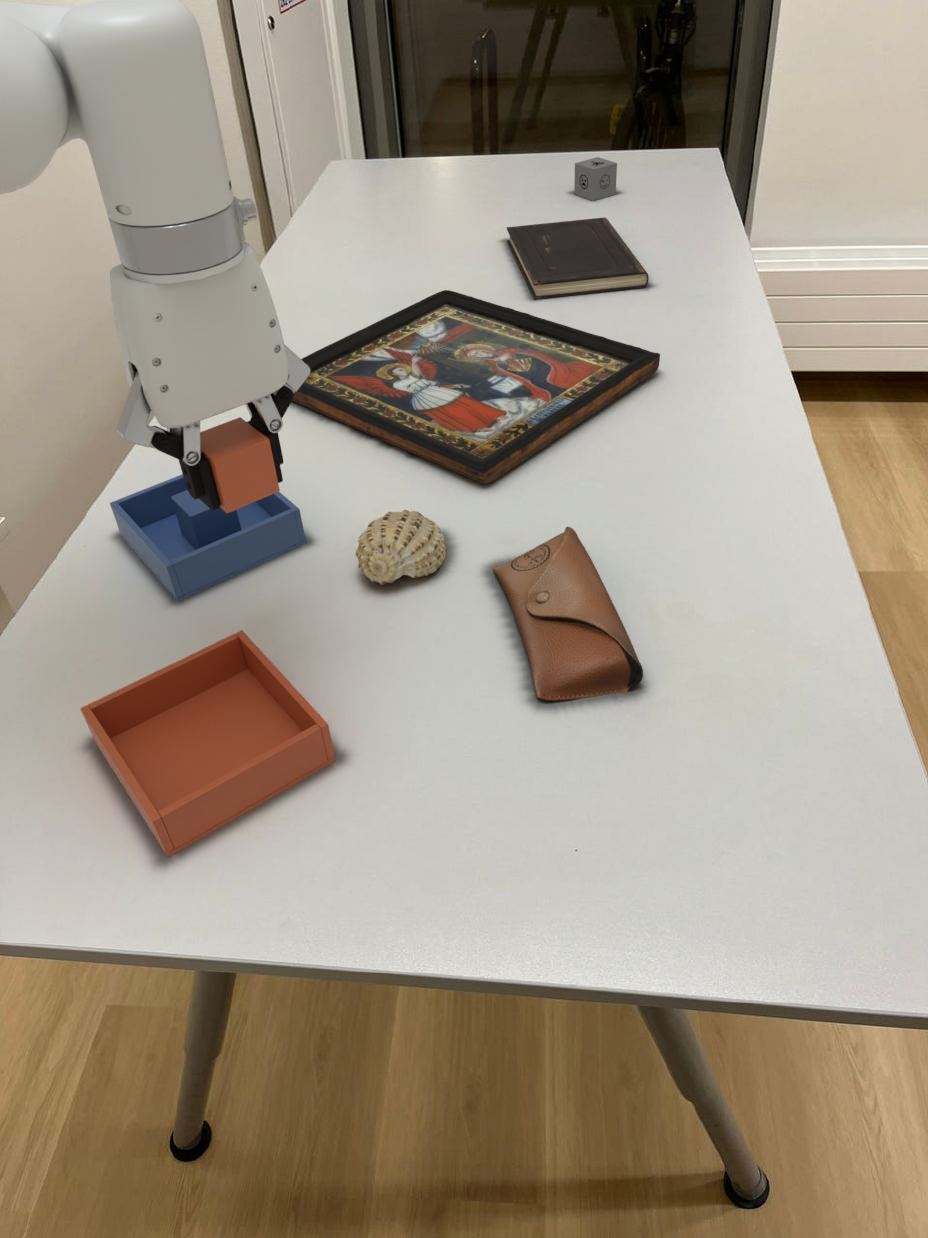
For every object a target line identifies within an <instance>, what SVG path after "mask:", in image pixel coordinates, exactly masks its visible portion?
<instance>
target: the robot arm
mask: <svg viewBox="0 0 928 1238" xmlns="http://www.w3.org/2000/svg"><path fill="white" fill-rule="evenodd" d="M76 139H79V140H82V142H83V141H84V143H86V145H87V149H88V151H89V154H90V158H91V161H92V165H93V169H94V171H95V172H94V173H95V175H96V178H97V182H98V186H99V189H100V193H101V197H102V200H103V203H104V207H105V210H106V215H107V217H108V222H109V225H110V229H111V232H112V236H113V241H114V244H115V247H116V251H117V254H118V257H119V260H120V264H119V265H116V266H113V267H112V268H111V269H110V270H109V285H110V286H109V287H110V296H111V305H112V312H113V319H114V325H115V330H116V335H117V340H118V341H117V342H118V346H119V350H120V355H121V359H122V364H123V369H124V373H125V377H126V381H127V385H128V388H129V392H128V394H127V397H126V401H125V403H124V405H123V409H122V411H121V415H120V417H119V421H118V423H117V427H116V433H117V434H118V435H119V436H120V437H121V438H122V439H123V440H124V441H125V442H127V443H130V444H133V445H137V446H141V447H145V448H152V449H156V450H157V451H159V452H161V453H163V454H166V455H168V456H171V457H172V458H175V459H177V460H178V463H179V466H180V470H181V475H182V474H183V477H184V481H185V484H186V487H187V490H188V492H189V494H190V495H191V496H192V497H193V498H194V499H195V500H196V499H200V500H201V501H202V502H203V503H204V504H205V505H207V506H208V507H209V508H210V509H211V510H212V511H214V510H216V509H218V508H220V506H221V503H220V499H219V495H218V491H217V487H216V483H215V479H214V475H213V472H212V468H211V464H210V462H209V461H208V460H207V459H206V458H205V457H204V456H203V455H202V452H201V440H200V432H201V421H202V422H203V421H204V420H207V419H210V418H212V417H215V416H217V415H221V414H223V413H226V412H228V411H231V410H234V409H236V408H239V407H241V406H245V408H246V410H247V411H248V412H247V413H248V414H249V415H250V420H248V421H246V422H247V423H249V424H250V425H251V426H253V427H254V428H255V429H256V430H258V431H259V432H260V433H262V434H263V435H264V436H266V437H267V438H268V439H269V441H270V446H271V450H272V455H273V460H274V465H275V470H276V475H277V479H278V484H280V483H282V482H284V477H283V473H282V468H281V465H283V464H284V456H283V452H282V447H281V441H280V436H279V433H280V431H281V430H282V429H283V426H284V421H283V418H284V416H285V414H286V412H287V411H288V409H289V407H290V406H291V403H292V402H293V401H292V400H293V397H294V393H295V391H296V392H297V391H298V389H299V388H300V387H301V385H302V384H303V383H304V381H305V380H306V379H307V377H308V376H309V374H310V367H309V366H308V365H307V364H306V363H305V362H303V361H302V360H301V359H302V358H300V357H299V356H298V354H296V353H295V352H294V351H293V350H292V349H291V348H290V347H288V346H287V345H286V344H285V341H284V337H283V333H282V328H281V325H280V321H279V317H278V314H277V311H276V306H275V304H274V301H273V298H272V295H271V291H270V289H269V285H268V283H267V280H266V277H265V275H264V272H263V270H262V267H261V265H260V263H259V260H258V257H257V255H256V253H255V251H254V248H253V247H252V245H251V244H250V243H247V242H246V237H245V232H244V226H247V224H248V223H249V222H254V221H256V220H257V216H258V213H257V207H256V206H255V203H254V201H253V200H252V199H251V198H249V197H247V198H243V199H240V198H238V197H236V196H234V193H233V187H232V181H231V176H230V172H229V167H228V163H227V158H226V157H227V156H226V152H225V146H224V141H223V136H222V131H221V128H220V120H219V116H218V111H217V105H216V101H215V95H214V90H213V86H212V80H211V75H210V70H209V65H208V60H207V55H206V49H205V46H204V41H203V37H202V32H201V28H200V25H199V22H198V20H197V18H196V16H195V14H194V13H193V12H192V11H191V9H189V7H188V6H187V5H186V4H185V3H183V2H182V1H180V0H94V1H90V2H86V3H81V4H79V5H57V4H56V5H54V4H39V3H27V2H26V3H25V2H14V1H0V195H2V194H3V195H4V194H9V193H14V192H16V191H18V190H21V189H23V188H25V187H27V186H29V185H31V184H32V183H33V182H35V181H36V180H37V179H38V178H39V177H40V176H41V175H42V174H43V172H45V170H46V169H47V167H48V166H49V165H50V163H51V162H52V159H53V157H54V156H55V154H56V152H57V150H58V149H60V148H61V147H64V146H65V145H66V144H67V143H69V142H71V141H73V140H76ZM151 412H152V413H153V414H154V417H155V419H156V421H157V423H158V424H159V425H160V426H161V427H159V426H158V425H149V424H148V419H149V417H150V414H151ZM162 427H163V428H162ZM164 428H166V429H164Z"/></svg>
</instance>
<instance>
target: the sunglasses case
mask: <svg viewBox="0 0 928 1238" xmlns="http://www.w3.org/2000/svg"><path fill="white" fill-rule="evenodd" d="M492 571H493V574H494V576H495V577H496V579H497V581H498V583H499V584H500V586H501V587H502V589H503V592H504V593H505V596H506V598H507V600H508V603H509V606H510V608H511V611H512V614H513V616H514V619H515V622H516V625H517V628H518V631H519V633H520V637H521V639H522V644H523V645H524V649H525V654H526V655H527V659H528V663H529V666H530V670H531V675H532V680H533V681H532V682H533V687H534V693H535V695H536V697H537V699H538V700H542V701H544V702H550V703H551V702H570V701H572V702H573V701H577V700H582V699H588V698H589V699H590V698H597V697H601V696H607V695H608V696H609V695H615V694H624V693H625V694H626V693H629V692H631V691H632V690H634V689H636V688H637V687H638V686H639V684H640V683H641V682H642V681H643V678H644V668H643V665H642V664H641V662H640V660H639V658H638V656H637V653H636V651H635V649H634V648H635V647H634V645H633V643H632V641H631V639H630V636H629V634H628V632H627V630H626V627H625V625H624V623H623V620H622V619H621V616H620V614H619V613H618V610H617V608H616V607H615V604H614V602H613V600H612V598H611V597H610V594H609V592H608V591H607V588H606V586H605V584H604V582H603V580H602V578H601V576H600V574H599V572H598V570H597V568H596V566H595V563H594V562H593V560H592V558H591V556H590V555H589V552H588V551H587V549H586V547H585V545H584V544H583V543H582V540H581V539H580V537H579V536H578V534H577V532H576V530H575V529H574V528H573V527H571V526H566V527H565V529H564V531H563V532H561V533H558V534H557V535H555V536H554V537H552V538H550V539H548V540H546V541H545V542H543V543H541V544H539V545H536V546H535V547H534V548H531V549H530V550H528V551H526V552H524V553H523V554H521V555H519V556H517V557H515V558H513V559H512V560H510V561H508V562H506V563H505V564H504V565H498V566H497V565H496V566H494V567H492Z"/></svg>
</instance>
